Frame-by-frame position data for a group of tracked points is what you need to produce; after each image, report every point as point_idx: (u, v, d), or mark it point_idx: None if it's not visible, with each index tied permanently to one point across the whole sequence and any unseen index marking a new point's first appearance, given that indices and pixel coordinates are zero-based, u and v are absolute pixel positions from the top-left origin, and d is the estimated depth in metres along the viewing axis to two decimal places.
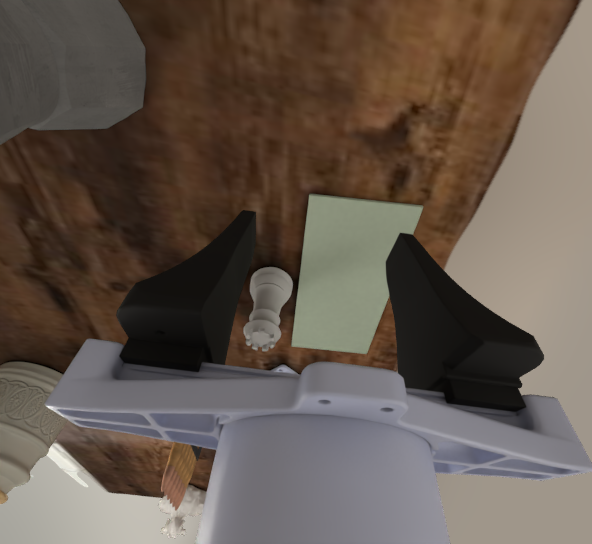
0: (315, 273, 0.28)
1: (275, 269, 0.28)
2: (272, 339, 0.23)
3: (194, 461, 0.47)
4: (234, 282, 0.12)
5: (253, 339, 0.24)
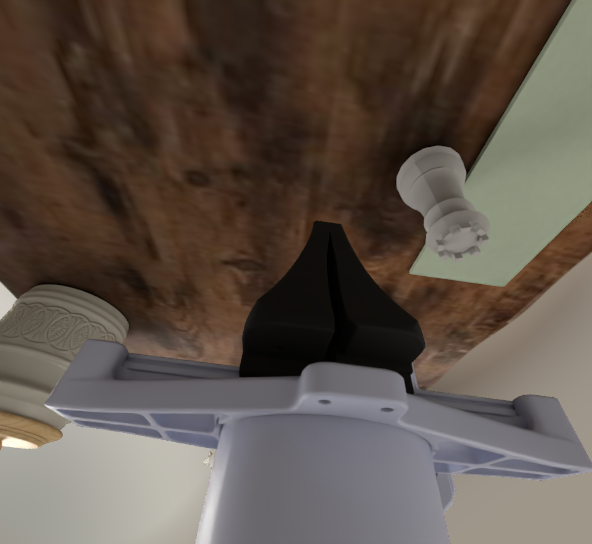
0: (503, 159, 0.19)
1: (447, 149, 0.19)
2: (485, 241, 0.15)
3: None
4: None
5: (447, 242, 0.16)
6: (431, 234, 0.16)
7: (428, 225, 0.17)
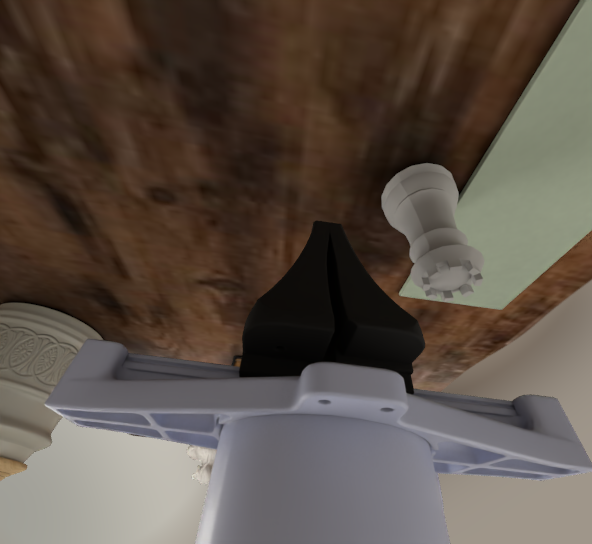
0: (501, 178, 0.17)
1: (438, 167, 0.17)
2: (479, 281, 0.13)
3: None
4: None
5: (435, 280, 0.13)
6: (416, 270, 0.14)
7: (414, 256, 0.15)
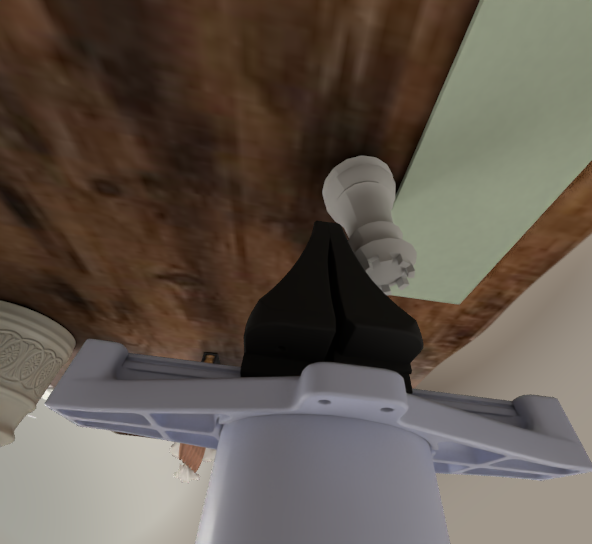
0: (436, 169, 0.17)
1: (373, 159, 0.16)
2: (411, 273, 0.13)
3: None
4: None
5: (370, 275, 0.13)
6: None
7: None
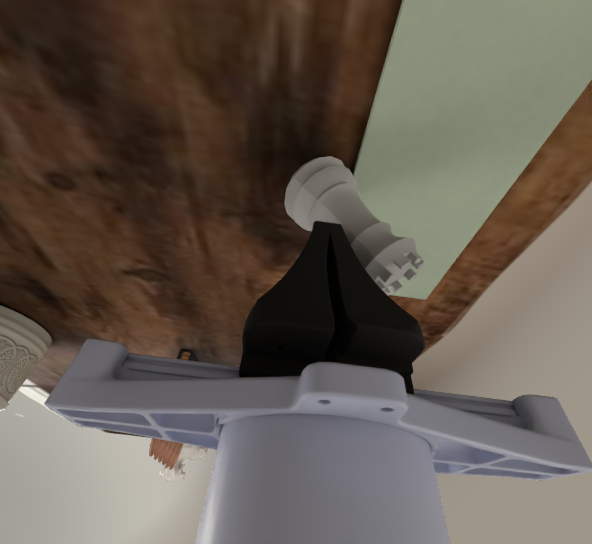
0: (384, 161, 0.17)
1: (329, 159, 0.16)
2: (421, 265, 0.13)
3: None
4: None
5: None
6: None
7: None
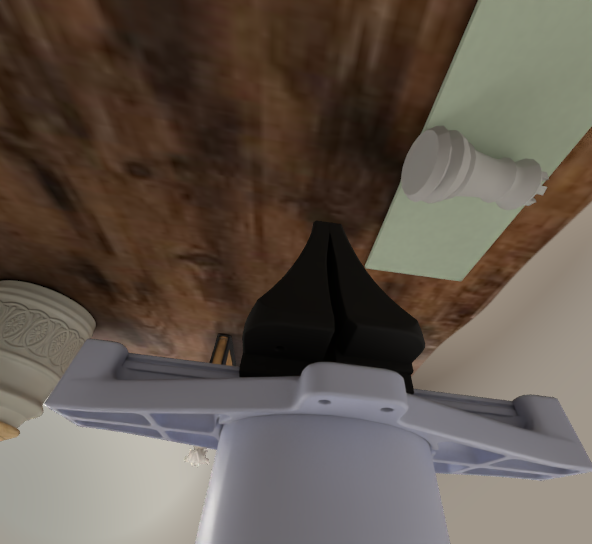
0: None
1: None
2: None
3: None
4: None
5: None
6: (540, 182, 0.17)
7: (513, 185, 0.17)
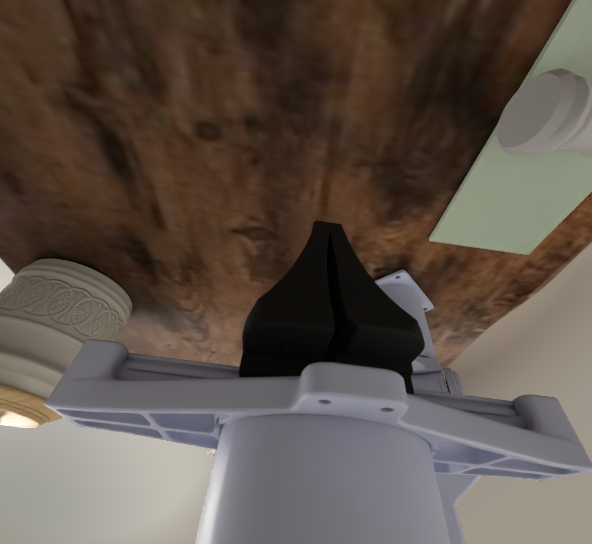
0: None
1: None
2: None
3: None
4: None
5: None
6: None
7: None
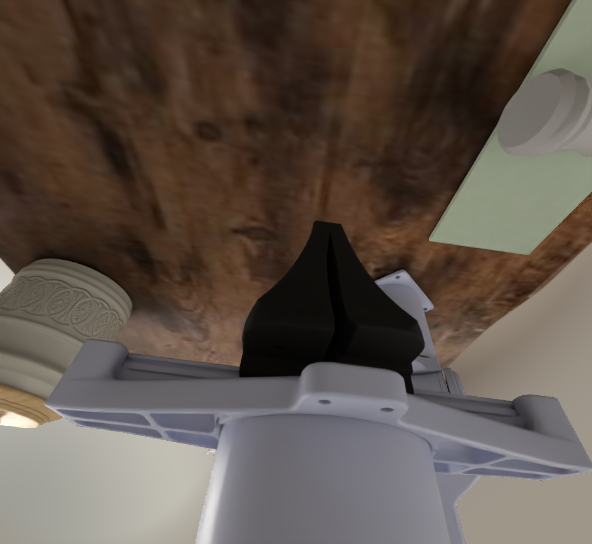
0: None
1: None
2: None
3: None
4: None
5: None
6: None
7: None
